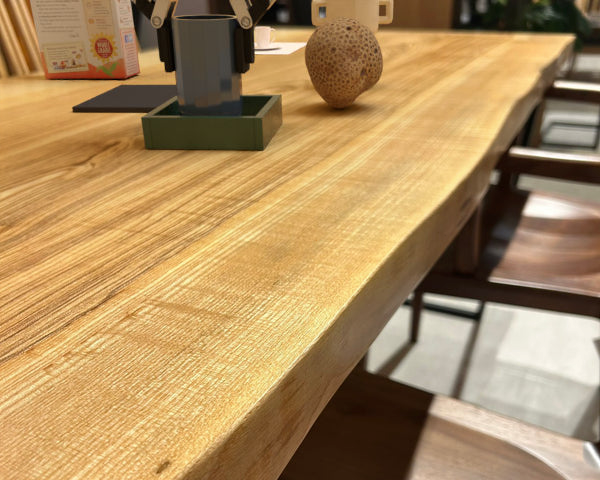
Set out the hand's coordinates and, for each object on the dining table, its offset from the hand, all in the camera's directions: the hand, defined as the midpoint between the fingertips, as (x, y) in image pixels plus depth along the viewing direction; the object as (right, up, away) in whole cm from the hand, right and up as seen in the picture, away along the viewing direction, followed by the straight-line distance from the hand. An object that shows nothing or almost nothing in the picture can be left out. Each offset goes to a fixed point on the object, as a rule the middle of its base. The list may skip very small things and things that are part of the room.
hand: (208, 69), depth 63 cm
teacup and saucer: (-1, +30, +70) cm, 76 cm away
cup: (0, -4, +2) cm, 4 cm away
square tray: (+1, -6, +3) cm, 6 cm away
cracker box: (-24, +13, +40) cm, 49 cm away
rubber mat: (-11, +4, +21) cm, 24 cm away
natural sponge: (+14, 0, +14) cm, 20 cm away
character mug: (+16, +7, +27) cm, 32 cm away
